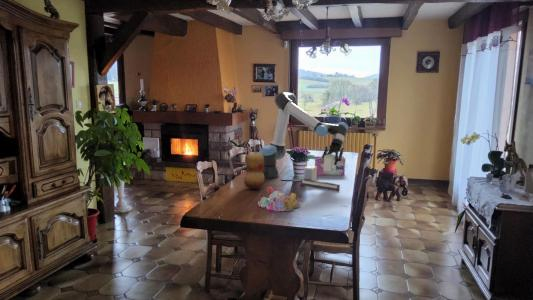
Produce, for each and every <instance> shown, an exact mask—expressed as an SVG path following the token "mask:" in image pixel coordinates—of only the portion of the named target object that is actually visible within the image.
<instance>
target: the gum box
mask: <svg viewBox="0 0 533 300" xmlns="http://www.w3.org/2000/svg"><path fill="white" fill-rule="evenodd" d="M338 158H339V155H338ZM322 165H323V159H322V156H315V157H314V166H315V167H317V176H344V175H346V174H345V172H346V169H345V168H346V157H344V156H342V158H341V161H338V162H337V165H336V172H335V173H333V174H326V173H323V167H322Z"/></svg>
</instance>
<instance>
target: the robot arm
mask: <svg viewBox="0 0 533 300" xmlns="http://www.w3.org/2000/svg"><path fill="white" fill-rule="evenodd" d="M296 104H297V97H296V95H295V94H294V93H292V92H290V91H284V92H283V91H281V92H278V93H277V94H276V95H275V97H274V105H275V106H276V107H277V110H278V114H277V120H276V124H275V129H274V135H273V139H272V141H270V144H269V145H263V146H262V147H261V149H260V153H261V154H263V156H264V168H263V174H264V179H267V180H269V179H270V180H271V179H272V180H273V179H277V178H279V171H278V168H277V161H279V160H282V159H283V158H284V157H285V156H286V153H287V150H286V143H285V138H286V134H287V129H288V123H289V119H290V115H291V116H293V117H294V118H296V119H297V120H298V121H299V122H301V123H302V124H304V125H306V126H307V127H308V128H310V129H311V130H312V131H314V132H315V134H316V135H317V136H319V137H325V136H327V135H331V136H332V135H333V137H332V140H331V142H330V145H329V146H327V145H326V146H325V147H324V148H325V149H324V151H323V153H322V155H321V157H322V159H323V165H322V167H324V156H325V155H328V154H331V155H333V153H334V155H336V156H335V159H336V160H334V162H333V164H332V167H331V168H332V170H333V169H334V167H335V165H337V162H338V161H341V158H342V157H343V154H344V152H345V148H344V147H342V146H343V143H344V140H345V138H346V135H347V133H348V129H349V125H348V124H347V123H346V122H343V121H342V122H338V124H334V123H333V124H332V123H327V122H321V121H320V120H318V119H317V118H315V117H314V116H313V115H311V114H309V112H306V111H305V110H303V109H302V108H301V107H299V105H296ZM338 156H339V158H338Z"/></svg>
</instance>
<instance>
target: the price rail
mask: <svg viewBox="0 0 533 300" xmlns="http://www.w3.org/2000/svg"><path fill="white" fill-rule="evenodd" d="M300 186H306V187H312V188H317V189H323V190H324V189H325V190H329V191H335V190H336V192H339V191H340V189H341V187H340V184H338V183H331V182H325V181H319V180H317V181H314V180H307V179H304V178H301V179H300Z"/></svg>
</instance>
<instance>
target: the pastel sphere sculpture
mask: <svg viewBox="0 0 533 300" xmlns="http://www.w3.org/2000/svg"><path fill="white" fill-rule="evenodd" d="M266 192H267V194H269V195H268V197H266V196H262V197H261V198H260V200H258V202H257V205H259V206H258V207H260V206H261V207H260V208H265V207H266V208H265V209H266V210H267V211H273V210H274V211H273V212H280V211H281V212H290V211H291V212H292V211H293V210H294V209H296V208H299V207H300V206H301V203H300V200H298V199H297V194H296V193H294V192H290V194H289V195H286V196H285V193H283V192H280V190H274V188H273V187H272V186H268V187H267V189H266Z"/></svg>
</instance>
